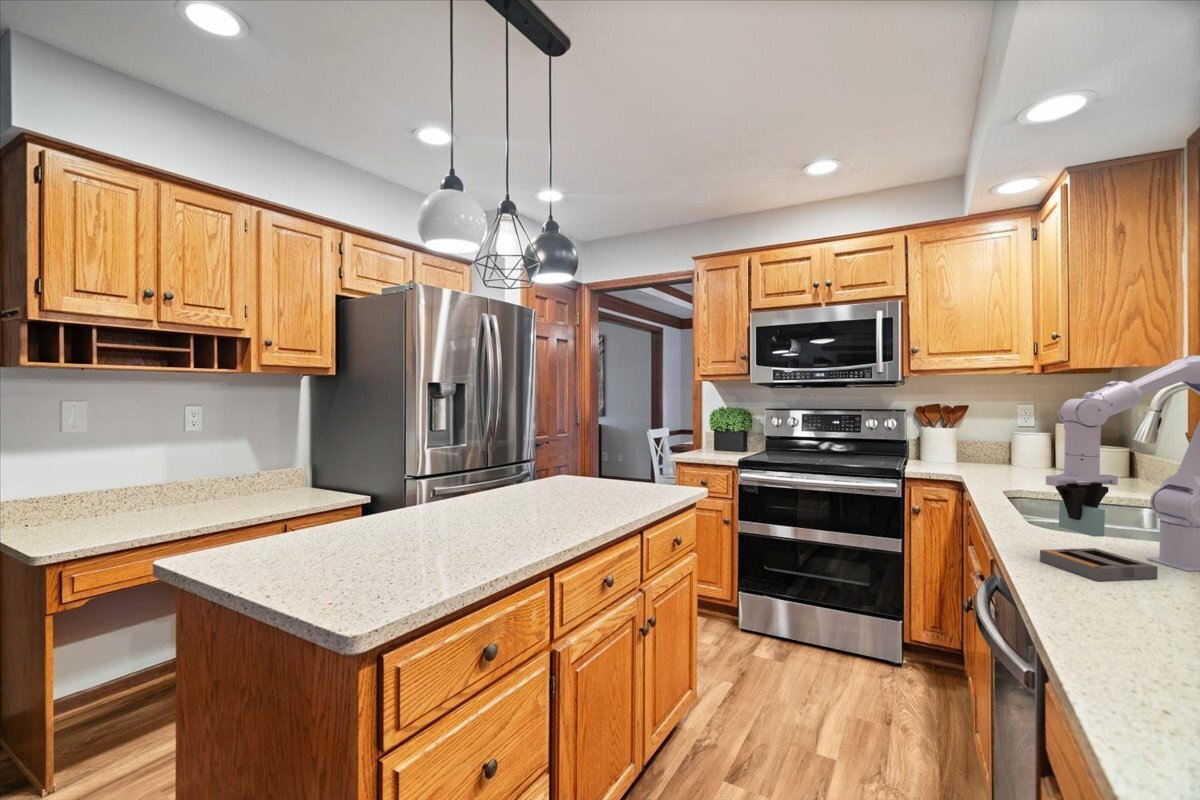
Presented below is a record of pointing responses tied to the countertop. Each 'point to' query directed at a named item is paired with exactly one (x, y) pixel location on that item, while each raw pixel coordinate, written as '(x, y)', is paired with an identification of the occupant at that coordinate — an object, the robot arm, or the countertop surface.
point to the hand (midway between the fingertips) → (1081, 518)
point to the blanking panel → (1084, 520)
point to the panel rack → (1098, 564)
